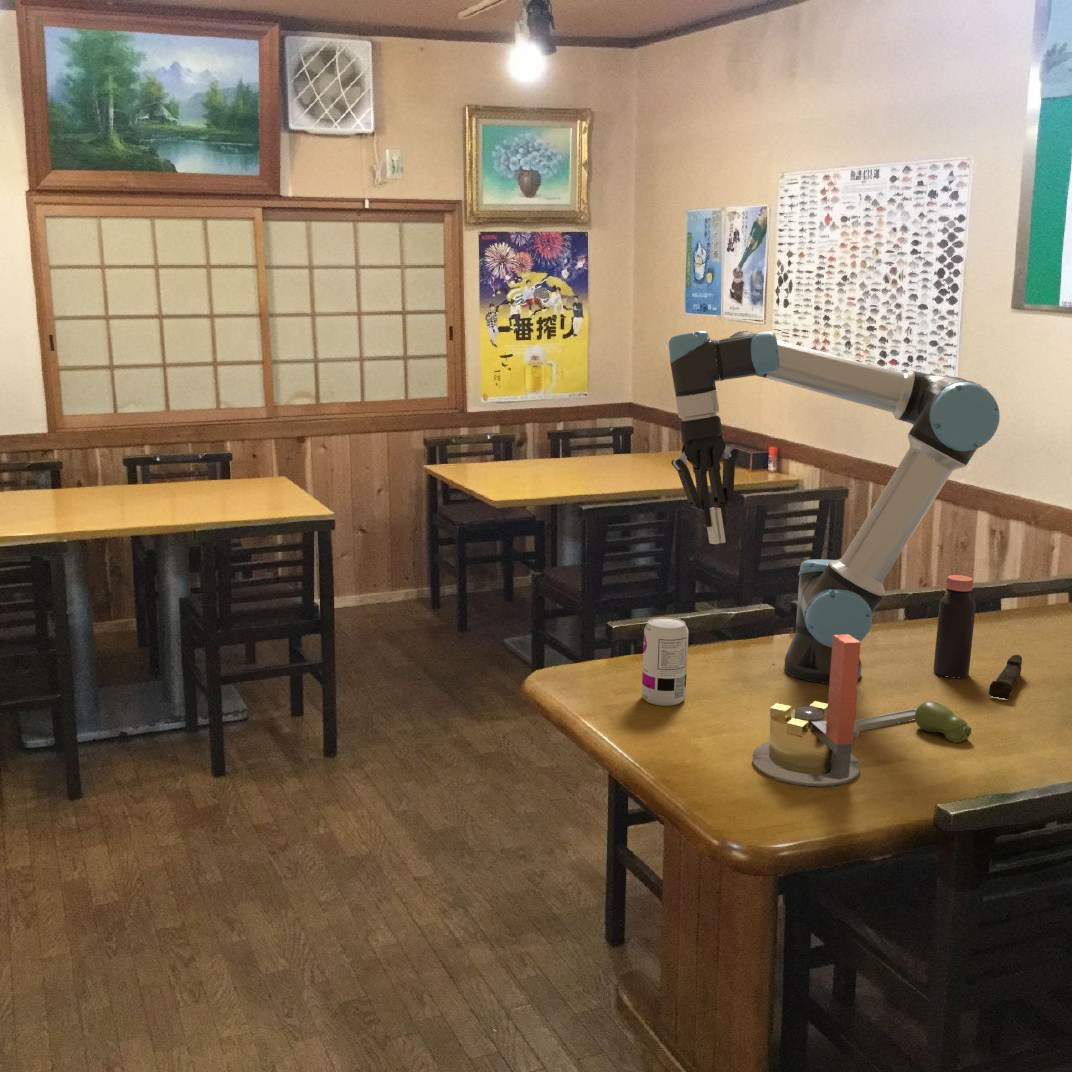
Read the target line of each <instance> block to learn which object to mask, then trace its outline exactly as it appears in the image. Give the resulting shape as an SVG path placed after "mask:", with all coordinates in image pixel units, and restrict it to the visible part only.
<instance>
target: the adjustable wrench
mask: <svg viewBox="0 0 1072 1072" xmlns="http://www.w3.org/2000/svg"><path fill="white" fill-rule="evenodd" d="M917 708H918V707H914V708H910V709H904V710H900V711H894V712H890V713H884V714H881V715H875V716H870V717H869V716H868V717H865V718H860V719H854V731H853V739H857V738H858V737H860V732H862V731H868V730H872V728H873V729H878V728H881V727H882V726H883V727H887V726H886V725H888V726H891V725H890V724H893V725H895V724H894V723H898V722H903V723H906V722H905V721H908V722H910V721H909V720H912V719H915V713H916V710H917ZM898 724H899V723H898ZM877 727H878V728H877Z"/></svg>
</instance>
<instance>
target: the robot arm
mask: <svg viewBox="0 0 1072 1072" xmlns="http://www.w3.org/2000/svg"><path fill="white" fill-rule="evenodd" d="M668 350H669V362H670V364H669V365H670V368H671V369H670V370H671V375H672V382H673V388H674V393H675V402H676V408H677V415H678V418H679V419H681V420H682V421H680V422H679V428H680V429H679V430H680V435H681V441H682V448H681V454H680V455H679V456H678V457H677V458H674V459H672V460H671V465H672V466H673V468H674V469H675V470H676V472H677V474H678V476H679V479H680V482H681V484H682V488H683V490H684V493H685V496H686V499H687V502H688V504H689V506H690V508H692V509H698V510H699V511H700V515H701V522H702V523H701V524H702V526H703V528H706V529H707V536H708V543H709V544H712V545H718V544H725V543H726V542H727V541H726V534H725V529H724V524H725V525H726V524H727V521H728V520H727V515H726V507H727V505H728V503H730V502H733V500H734V497H735V496H734V493H735V492H734V491H735V473H736V472H735V471H736V462H737V459H738V455H739V450H738V449H737V448H731V447H730V446H727V443H726V441H725V440H724V438H723V428H722V421H721V420H722V419H721V416H720V415H717V413H719V412H720V405H719V399H718V393H717V386H716V382H722V381H723V382H724V381H725V380H732V379H733V380H735V379H741V378H747V377H754V376H756V377H760V378H764V379H768V380H772V381H775V382H779V383H782V384H786V385H790V386H793V387H797V388H801V389H805V390H809V391H812V392H816V393H819V394H823V395H827V396H830V397H834V398H838V399H842V400H845V401H848V402H852V403H856V404H860V405H863V406H867V407H870V408H874V409H878V410H882V411H884V412H885V411H886V412H889V413H891V414H892V415H893V417H894V419H896V420H899V421H902V422H905V423H907V424H911V425H912V427H911V428H910V431H909V432H908V433H907V438H908V443H909V448H908V450H907V451H906V453H905V455H904V457H903V458H902V460H901V462H900V463H899V465H898V466H897V468H896V470H895V471H894V473H893V474H892V476H891V477H890V479H889V481H888V482H887V484H886V486H884V489H883V490H882V492H881V493H880V495H879V497H878V498H877V500H876V502H875V503H874V505H873V507H872V508H871V510H870V511H869V513H868V514H867V517H866V518H865V519H864V521H863V523H862V525H861V526H860V528H859V530H858V531H857V532H856V534H855V536H854V538H853V539H852V540H851V543H850V544H849V546H848V547H847V549H846V551H845V552H844V554H843V555H842V556H841V558H839V559H820V558H819V559H817V558H816V559H807V560H804V561H803V562H801V564H800V566H799V572H798V578H799V580H798V590H797V592H798V593H797V607H796V609H797V610H796V622H795V625H796V626H795V633H794V635H793V637H792V640H791V643H790V645H789V647H788V650H787V652H786V653H785V654H786V655H785V657H784V665H783V666H784V667H783V668H784V671H785V672H786V673H787V674H788V675H790V676H791V677H793V678H797V679H799V680H804V681H807V682H813V683H820V684H829V683H830V670H831V657H832V643H833V635H845V634H849V635H850V636H852V637H853V638H855V639H856V640H858V641H859V642H862V641H863V640H864V639H865V638H866V637H867V636H868V635H869V632H870V630H871V628H872V625H873V624H872V623H873V614H874V613H875V612H876V609H877V608H878V606H879V605H880V603H881V601H882V600H883V598H884V597H885V594H886V593H885V587H884V583H883V582H884V581H885V579H886V578H887V576H888V574H889V573H890V571H891V570H892V568H893V566H894V565H895V563H896V562H897V560H898V558H899V557H900V556H901V553H902V552H903V550H904V549H905V547H906V546H907V544H908V542H909V541H910V539H911V538H912V536H913V535H914V533H915V531H916V530H917V528H918V526H919V525H920V524H921V522H922V520H923V519H924V517H925V516H926V514H927V512H928V511H929V509H930V507H932V505H933V503H934V501H935V500H936V498H937V496H938V495H939V493H940V492H941V490H942V489H943V487H944V486H945V484H946V482H947V480H948V479H949V477H950V476H951V475H952V473H953V471H956V470H959V469H963V468H965V467H967V465H969V462H970V460H971V459H972V458H973V456H974V454H975V453H976V452H977V450H978V449H979V448H981V447H984V446H985V445H986V444H987V443H988V442H989V441H990V440H991V439H992V438H993V437H994V435H995V434H996V431H997V429H998V428H999V424H1000V419H1001V418H1000V417H1001V416H1000V409H999V405H998V402H997V400H996V398H995V397H994V395H993V394H992V393H991V392H990V391H989V390H988V389H987V388H986V387H984V386H982V385H981V383H977V382H974V381H971V380H967V379H964V378H962V377H957V376H947V375H939V374H938V375H936V374H930V373H925V372H924V373H923V372H919V371H915V370H909V371H907V372H906V373H902V372H898V371H896V370H891V369H887V368H885V367H880V366H876V365H872V364H868V363H865V362H861V361H857V360H855V359H854V360H853V359H850V358H848V357H847V358H846V357H843V356H839V355H835V354H832V353H827V352H823V351H821V350H820V351H819V350H816V349H812V348H808V347H805V346H801V345H796V344H793V343H790V342H787V341H786V342H785V341H783V340H777V336H776V333H774V332H773V331H770V330H769V331H757V332H755V333H754V332H751V331H748V330H743V331H742V330H741V331H737V332H735V333H733V334H732V335H731V336H729V337H727V338H722V339H721V338H720V339H711V337H710V336H709V333H708V332H707V331H705V330H701V331H695V332H688V333H682V334H677V335H674V336H671V338H670V339H669V341H668ZM722 457H723V463H722V466H721V459H722ZM688 462H689V463H690V465H691V466H692V471H693V473H694V479H695V483H694V480H693V477H692V475H691V471H690V468H689V467H688ZM721 467H722V477H721ZM707 474H708V475H707ZM708 478H709V480H708ZM708 481H709V483H708ZM709 484H710V490H711V491H709ZM710 492H711V496H712V497H711V498H712V501H713V506H714V507H711V501H710ZM862 670H863V669H862V661H861V656H859V669H858V680H859V679H860V678H861V677H862Z"/></svg>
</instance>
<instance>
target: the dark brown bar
mask: <svg viewBox="0 0 1072 1072" xmlns="http://www.w3.org/2000/svg"><path fill="white" fill-rule="evenodd" d="M1022 662H1023V658H1022V656H1021V655H1020V654H1013V655H1012V656H1011V657H1009V658H1008V659H1007V661H1006V665H1005V667H1004V669H1003V670H1002V671H1001V673H1000V674H999V675H998V676H997V678H996V680H992V682H991V683H990V685H989V689H988V690H989V691H988V694H989V696H990V697H991V696H993V697H999V698H1005V699H1008V700H1010V698H1011V694H1012V693H1013V690H1014V688H1015V686H1016V683H1018V682H1017V681H1018V680H1019V681H1020V679H1021V678H1020V677H1021V673H1022ZM1019 678H1020V679H1019Z"/></svg>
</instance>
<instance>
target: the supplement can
mask: <svg viewBox="0 0 1072 1072" xmlns="http://www.w3.org/2000/svg"><path fill="white" fill-rule="evenodd" d="M688 647H689V629H688V627H687V625H686V622H685V621H684V620H682V619H679V618H675V617H667V616H665V617H664V616H662V617H661V616H659V617H652V618H650V619H648V620H647V623H646V625H645V627H644V630H643V648H642V649H643V654H642V673H641V674H642V678H641V697H642V698H643V699H644V700H645V701H646V702H647V703H649V704H652V705H655V706H662V707H663V706H664V707H671V706H676V705H679V704H681V703H682V702H683V701H684V700H686V696H687V695H686V693H687V692H686V691H687V689H686V688H687V674H688V673H687V670H688V653H689V652H688V649H689V648H688Z"/></svg>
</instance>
